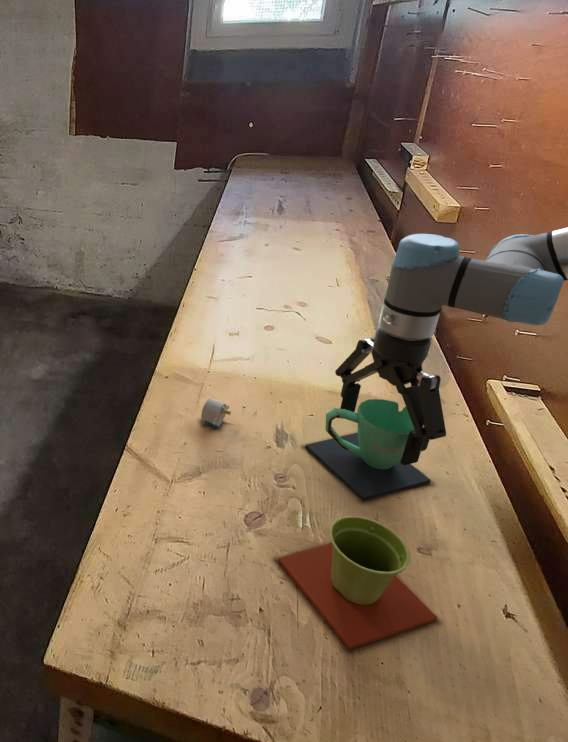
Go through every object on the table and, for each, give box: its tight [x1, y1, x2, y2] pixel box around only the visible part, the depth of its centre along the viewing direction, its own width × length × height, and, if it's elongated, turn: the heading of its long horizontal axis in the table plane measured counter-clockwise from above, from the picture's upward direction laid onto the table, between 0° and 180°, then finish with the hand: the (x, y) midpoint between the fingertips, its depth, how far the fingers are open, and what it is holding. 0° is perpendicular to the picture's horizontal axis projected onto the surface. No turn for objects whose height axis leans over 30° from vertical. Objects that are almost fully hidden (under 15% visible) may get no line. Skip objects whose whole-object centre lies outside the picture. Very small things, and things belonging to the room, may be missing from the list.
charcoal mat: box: [305, 432, 432, 501], centre depth 101 cm, size 14×14×1 cm
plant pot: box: [329, 515, 411, 605], centre depth 77 cm, size 9×9×9 cm
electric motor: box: [200, 397, 232, 429], centre depth 112 cm, size 7×5×5 cm
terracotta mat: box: [277, 542, 438, 650], centre depth 79 cm, size 14×14×1 cm
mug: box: [324, 398, 424, 470], centre depth 100 cm, size 15×10×10 cm
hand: (375, 437), depth 98 cm, fingers open, 13 cm apart
